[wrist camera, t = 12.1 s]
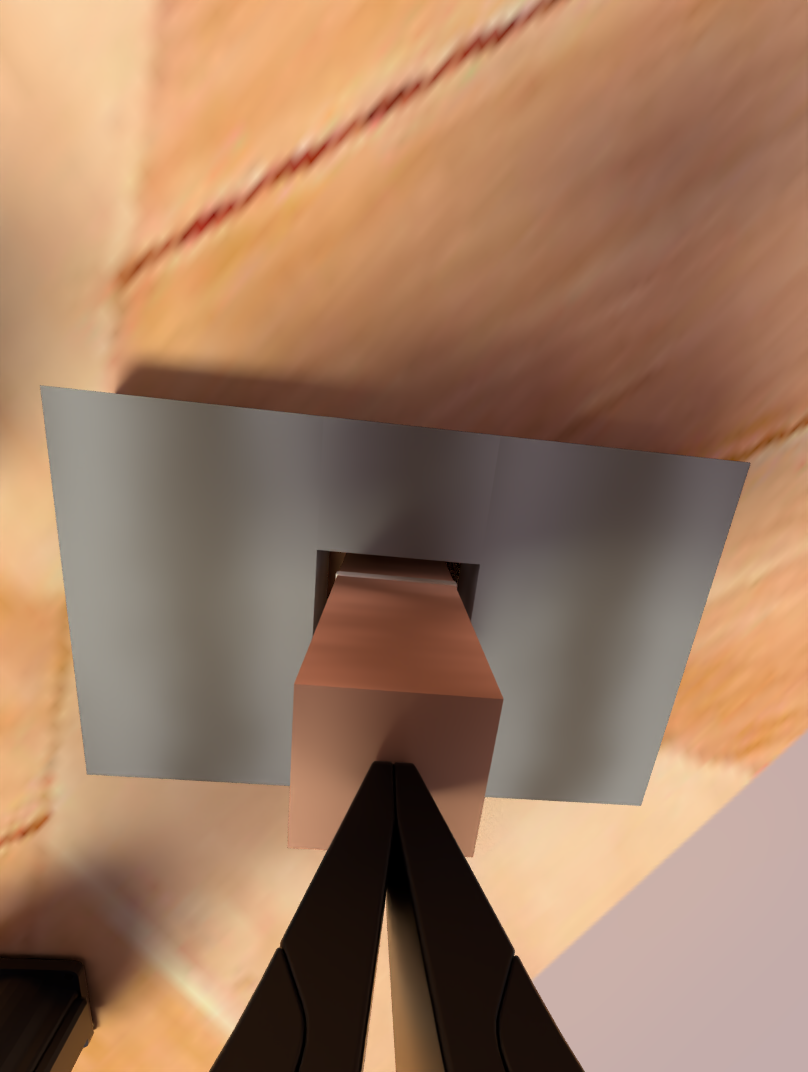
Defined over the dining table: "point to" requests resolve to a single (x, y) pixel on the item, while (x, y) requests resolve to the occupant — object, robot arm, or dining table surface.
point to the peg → (391, 697)
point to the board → (377, 529)
